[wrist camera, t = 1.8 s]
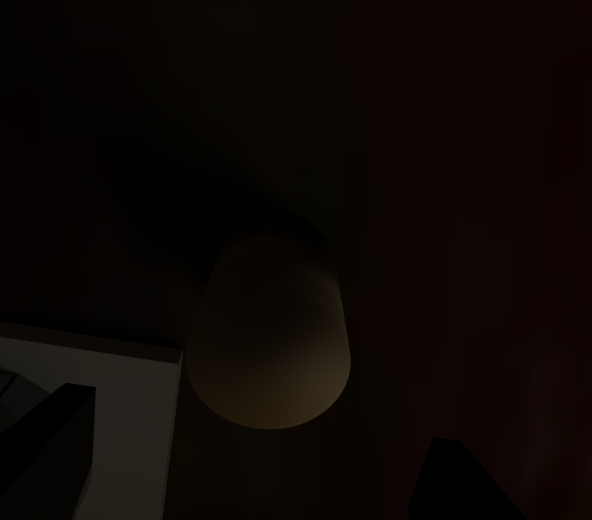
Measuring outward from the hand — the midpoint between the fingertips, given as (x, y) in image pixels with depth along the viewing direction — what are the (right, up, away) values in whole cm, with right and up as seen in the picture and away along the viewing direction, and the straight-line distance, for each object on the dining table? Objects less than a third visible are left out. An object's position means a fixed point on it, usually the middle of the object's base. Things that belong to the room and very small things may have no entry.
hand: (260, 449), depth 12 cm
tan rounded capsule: (0, +4, +9) cm, 9 cm away
